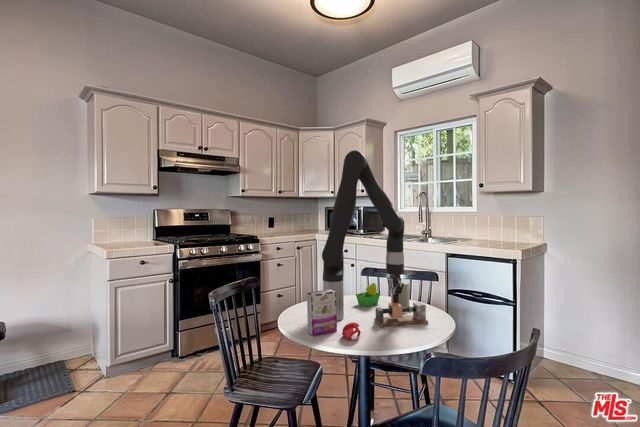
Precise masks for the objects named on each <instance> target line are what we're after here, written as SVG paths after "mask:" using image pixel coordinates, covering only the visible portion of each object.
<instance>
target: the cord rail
mask: <svg viewBox="0 0 640 427" xmlns="http://www.w3.org/2000/svg"><path fill="white" fill-rule="evenodd" d="M426 312H427V305H426V304H425V303H423V302H422V301H416V302H412V306H411V305H409V306H407V307H402V313H408V314H410V315H402V318H396V319H393V318H392V317H390V316H384V315H385V314H389V313H392V308H389V307H388V308H382V307H375V317H374V319H373V321H374V323H375V324H376V325H377V326H378V327H379V328H380V329H382V328H394V327H395V328H396V327H408V326H421V325H428V324H429V320H428V319H427V313H426ZM411 313H412V314H411Z"/></svg>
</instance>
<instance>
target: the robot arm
mask: <svg viewBox="0 0 640 427" xmlns="http://www.w3.org/2000/svg"><path fill="white" fill-rule="evenodd" d="M358 182H360V183H361V184H362V186H363V188H364V189H365V192H366V194H367V196H368V198H369V200H370V202H371V204H372V205H373V207H374V208H375V210H376V212H378V214H379V217H380V220H381V221H382V224H383V225H384V227H385V228H386V229H387V231H388V232H387V233H388V234H387V239H386V251H385V252H386V255H385V273H386V274H388V276H387V277H386V279H387V284H388V290H389V291H390V293H393V303H399V294H401V292H402V289H403V286H404V284H403V283H401V282H402V278H401V275H402V274H404V273H405V255H404V254H405V253H404V236H405V220H404V218H403V217H402V216H401V215H399V214H397V212H396V211H395V209H394V207H393V203H392V201H391V200H390V198H389V197H388V195H387V194H386V192H385V191H384V189H383V187H382V186H381V185H380V184H379V182H378V180H377V179H376V177H375V175H374V173H373V172H372V169H371V167H370V165H369V161H368V159H367V156H365V154H363V153H362V152H361V151H360V150H354V149H353V150H350V151H349V152H348V153H346V154H345V157H344V158H343V165H342V171H341V179H340V183H339V186H338V190H337V193H336V197H335V200H334V204H333V209H332V214H331V218H330V225H329V232H328V235H327V239H326V243H325V244H324V247H323V250H322V252H321V259H322V261H323V262H322V264H323V265H322V266H323V268H322V290H328V289H332V290H334V291H336V314H337V315H336V316H337V322H338V321H342V320H343V319H344V317H345V313H344V309H345V308H344V272H345V269H344V267H345V266H344V262H345V261H344V257H345V256H344V254H345V253H344V244H345V240H346V236H347V233H348V231H349V228H350V227H351V223H352V220H353V218H354V214H355V210H356V204H357V190H358V189H357V188H358V187H357V186H358Z"/></svg>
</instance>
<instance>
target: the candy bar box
mask: <svg viewBox="0 0 640 427" xmlns="http://www.w3.org/2000/svg"><path fill="white" fill-rule="evenodd" d="M306 310H307V333H308V334H309V335H310V336H312V337H316V336H321V335H325V334H329V333H330V334H331V333H335V332H337V331H338V321H337V316H336V315H337V314H336V291H334V290H332V289H328V290H323V289H322V290H317V291H310V292H306Z"/></svg>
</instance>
